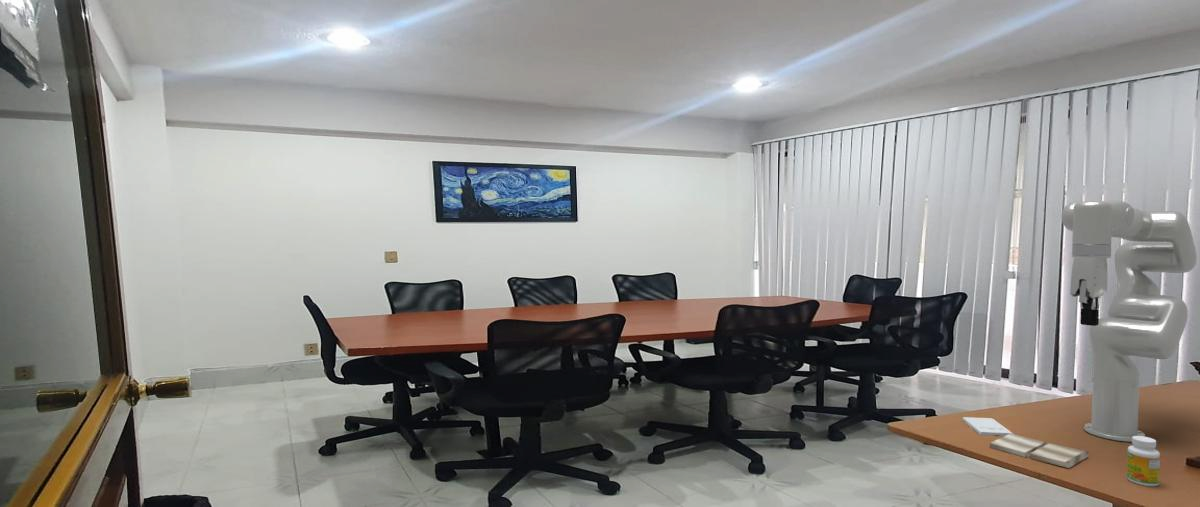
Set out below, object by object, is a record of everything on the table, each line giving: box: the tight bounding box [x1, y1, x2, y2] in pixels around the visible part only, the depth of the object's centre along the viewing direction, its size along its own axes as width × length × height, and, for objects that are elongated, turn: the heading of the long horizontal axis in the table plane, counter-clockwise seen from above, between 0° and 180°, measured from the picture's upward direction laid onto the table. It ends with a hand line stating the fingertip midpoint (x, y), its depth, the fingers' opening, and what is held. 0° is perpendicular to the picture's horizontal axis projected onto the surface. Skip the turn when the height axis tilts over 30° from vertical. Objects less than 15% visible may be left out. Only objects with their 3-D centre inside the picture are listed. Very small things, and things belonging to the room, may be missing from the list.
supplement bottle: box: [1126, 436, 1161, 487], centre depth 135 cm, size 5×5×10 cm
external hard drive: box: [962, 416, 1014, 437], centre depth 171 cm, size 2×8×12 cm
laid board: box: [989, 433, 1046, 459], centre depth 156 cm, size 12×9×1 cm
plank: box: [1029, 442, 1089, 469], centre depth 149 cm, size 12×8×1 cm, turn 124°
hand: (1089, 324), depth 152 cm, fingers closed
